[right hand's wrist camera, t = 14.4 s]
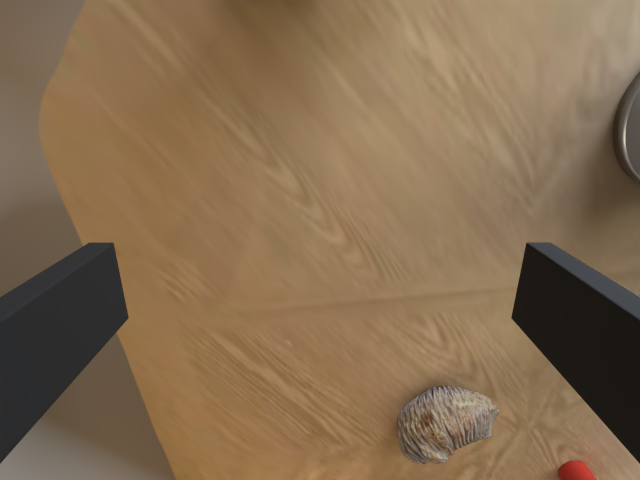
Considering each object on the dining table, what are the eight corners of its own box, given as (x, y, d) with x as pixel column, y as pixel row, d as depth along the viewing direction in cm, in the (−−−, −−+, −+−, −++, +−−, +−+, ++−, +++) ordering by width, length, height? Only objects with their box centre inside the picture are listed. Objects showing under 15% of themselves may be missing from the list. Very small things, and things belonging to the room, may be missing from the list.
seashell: (472, 360, 54) (495, 382, 44) (499, 430, 53) (529, 468, 43) (381, 389, 55) (384, 416, 45) (406, 458, 54) (414, 501, 44)
